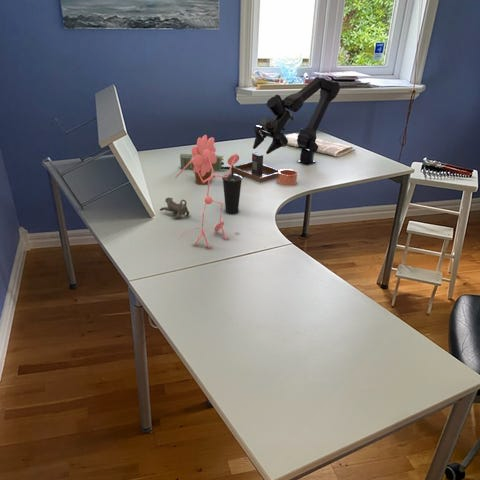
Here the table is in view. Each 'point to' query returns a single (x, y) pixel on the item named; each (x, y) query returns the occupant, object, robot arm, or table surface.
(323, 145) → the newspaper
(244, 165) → the tray
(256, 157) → the dark grey block
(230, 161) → the figurine
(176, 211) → the dog figurine
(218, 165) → the handheld radio
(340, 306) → the table surface
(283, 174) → the holder cup
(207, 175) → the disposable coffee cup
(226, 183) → the drinking cup
